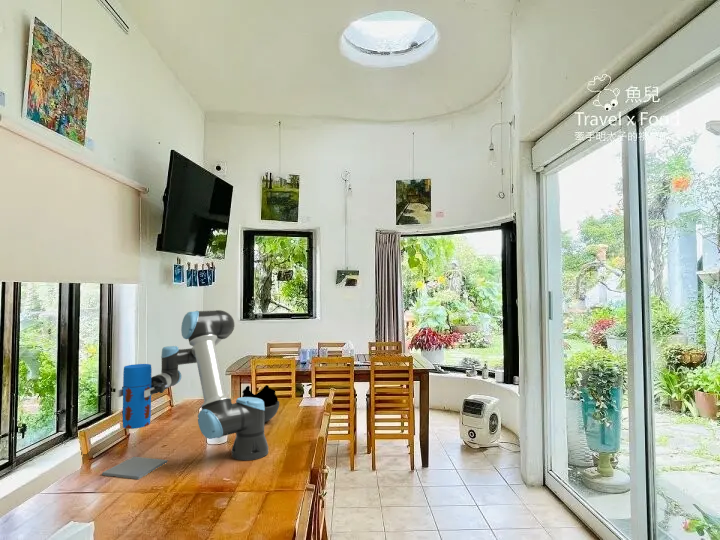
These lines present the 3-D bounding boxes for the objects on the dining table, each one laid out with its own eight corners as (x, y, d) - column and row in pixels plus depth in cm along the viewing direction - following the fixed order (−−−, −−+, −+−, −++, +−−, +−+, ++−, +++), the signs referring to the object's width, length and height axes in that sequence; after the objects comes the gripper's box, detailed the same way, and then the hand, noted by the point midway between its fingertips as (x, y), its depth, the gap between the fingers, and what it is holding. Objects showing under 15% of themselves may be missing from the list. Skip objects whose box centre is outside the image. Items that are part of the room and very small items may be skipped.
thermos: (138, 429, 179) (139, 368, 181) (116, 428, 182) (117, 367, 183) (156, 421, 190) (157, 364, 191) (134, 420, 192) (135, 363, 193)
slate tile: (167, 462, 175) (167, 460, 175) (138, 479, 159) (138, 476, 159) (133, 459, 179) (133, 456, 179) (102, 475, 163) (102, 472, 163)
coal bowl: (287, 420, 231) (287, 384, 231) (259, 431, 214) (259, 392, 215) (260, 414, 241) (260, 380, 242) (231, 424, 224) (232, 387, 225)
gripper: (183, 391, 203) (158, 403, 182) (135, 390, 205) (104, 402, 183) (183, 374, 204) (158, 385, 182) (135, 374, 205) (105, 384, 183)
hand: (131, 394), depth 182 cm, fingers closed on thermos, 11 cm apart
